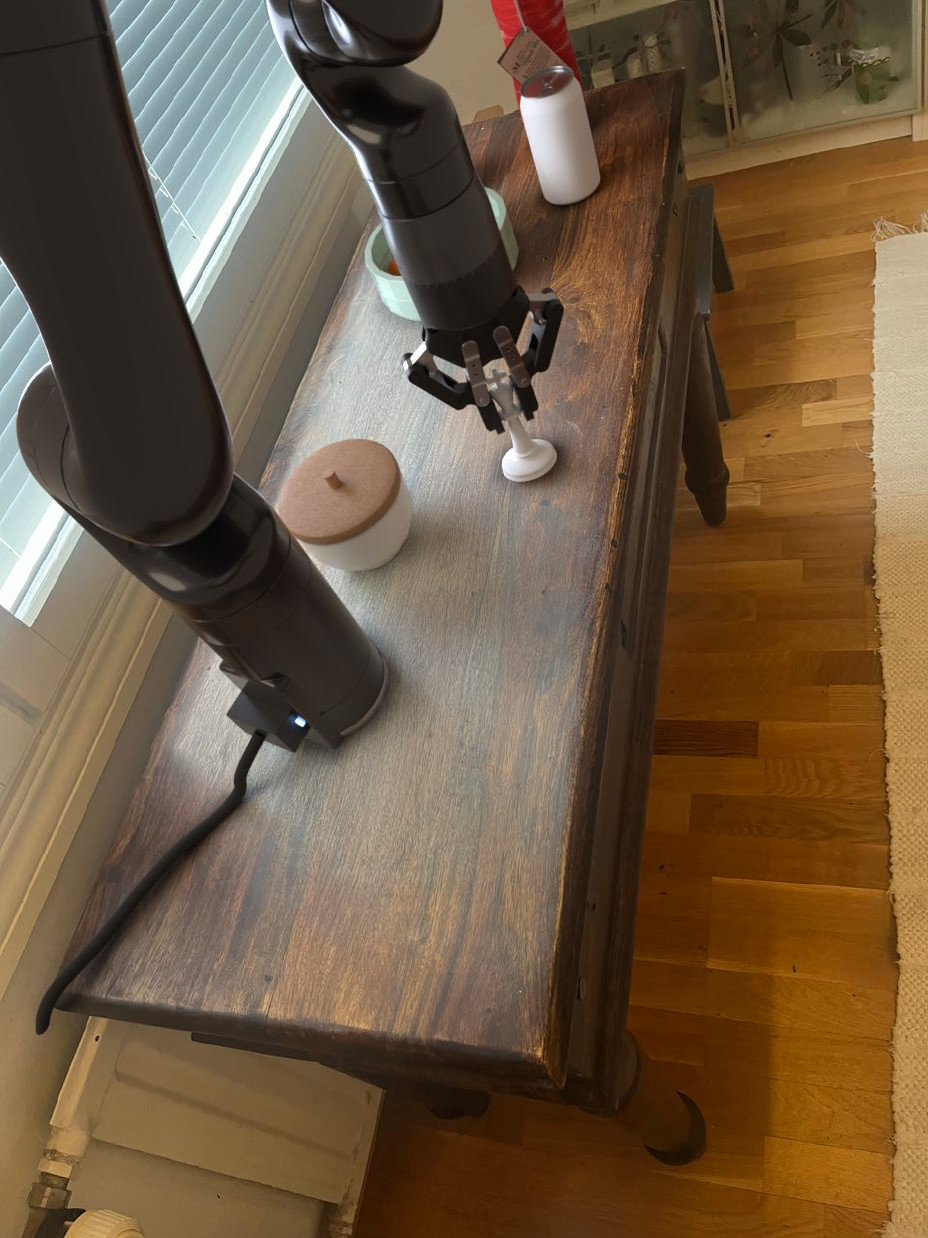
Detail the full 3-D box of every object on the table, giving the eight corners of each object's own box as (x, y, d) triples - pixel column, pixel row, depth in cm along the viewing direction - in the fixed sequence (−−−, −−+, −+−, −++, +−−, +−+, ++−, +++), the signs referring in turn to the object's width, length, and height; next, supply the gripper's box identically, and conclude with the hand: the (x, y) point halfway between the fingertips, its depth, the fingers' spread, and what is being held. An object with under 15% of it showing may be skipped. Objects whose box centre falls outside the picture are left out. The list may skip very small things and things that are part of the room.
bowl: (479, 329, 94) (462, 285, 90) (359, 318, 102) (338, 276, 98) (543, 230, 100) (530, 184, 96) (425, 226, 108) (409, 183, 104)
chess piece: (496, 460, 83) (457, 368, 77) (546, 437, 83) (511, 342, 76) (512, 490, 80) (472, 395, 73) (564, 465, 79) (529, 368, 73)
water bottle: (582, 165, 105) (526, -87, 85) (515, 176, 108) (446, -64, 88) (599, 105, 111) (550, -143, 91) (535, 117, 114) (474, -121, 94)
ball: (404, 272, 99) (424, 275, 101) (394, 247, 99) (415, 250, 101) (388, 289, 101) (408, 290, 103) (379, 264, 101) (399, 267, 103)
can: (601, 165, 104) (578, 55, 94) (600, 199, 100) (576, 89, 91) (545, 178, 106) (517, 73, 96) (542, 212, 102) (513, 106, 93)
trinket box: (295, 559, 84) (244, 492, 77) (376, 480, 87) (335, 407, 79) (367, 612, 78) (319, 545, 71) (453, 525, 81) (415, 451, 73)
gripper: (368, 316, 63) (450, 483, 77) (555, 227, 62) (605, 412, 75) (347, 261, 68) (428, 428, 81) (521, 177, 66) (573, 360, 80)
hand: (513, 420), depth 78 cm, fingers closed on chess piece, 2 cm apart
